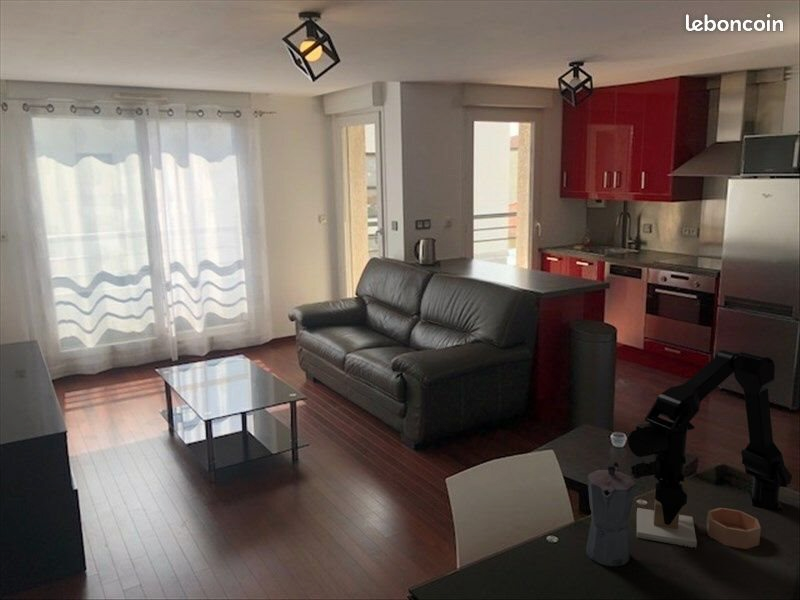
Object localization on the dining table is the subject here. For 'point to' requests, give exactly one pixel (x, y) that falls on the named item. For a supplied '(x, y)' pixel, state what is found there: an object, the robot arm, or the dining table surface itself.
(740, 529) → the bowl
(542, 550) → the dining table surface
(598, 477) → the moka pot
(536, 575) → the dining table surface
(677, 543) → the mat
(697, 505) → the dining table surface
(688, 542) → the cover
